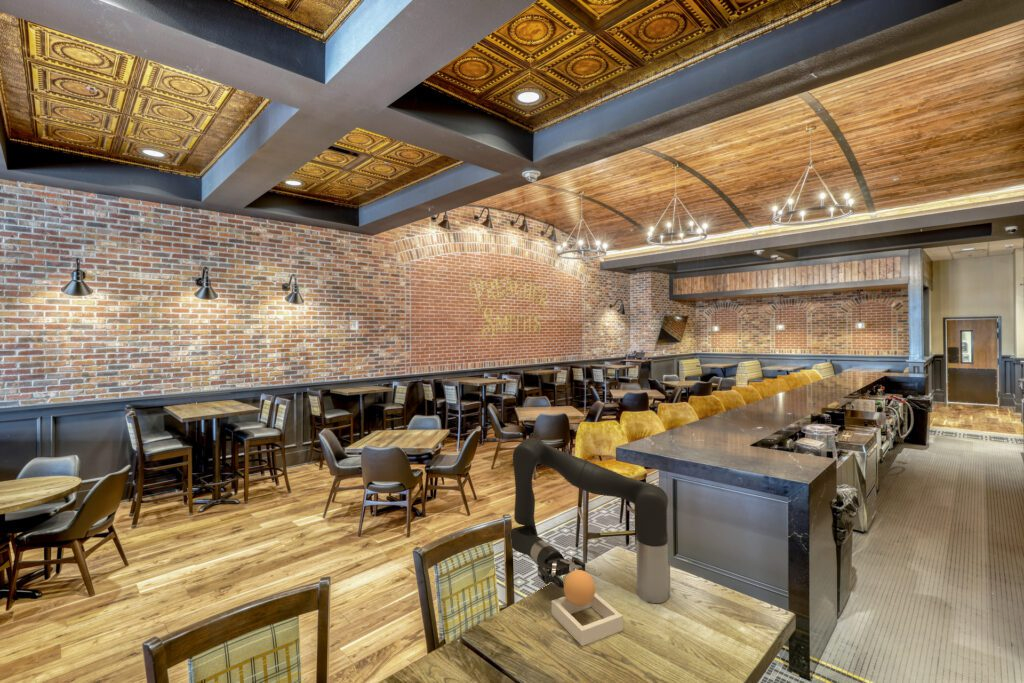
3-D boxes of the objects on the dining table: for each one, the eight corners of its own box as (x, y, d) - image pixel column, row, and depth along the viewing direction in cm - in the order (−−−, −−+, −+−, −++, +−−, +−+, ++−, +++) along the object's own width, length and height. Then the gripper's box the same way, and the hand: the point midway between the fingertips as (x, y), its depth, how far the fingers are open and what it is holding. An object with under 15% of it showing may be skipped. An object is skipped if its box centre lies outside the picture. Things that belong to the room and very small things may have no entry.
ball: (582, 588, 136) (583, 560, 135) (601, 607, 128) (602, 577, 127) (557, 597, 132) (558, 567, 131) (574, 616, 124) (576, 586, 123)
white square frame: (589, 601, 136) (589, 588, 136) (622, 630, 123) (622, 615, 123) (551, 614, 130) (551, 600, 130) (582, 646, 117) (581, 631, 117)
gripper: (527, 550, 142) (554, 575, 128) (564, 540, 149) (594, 563, 134) (527, 574, 143) (554, 601, 128) (565, 563, 149) (595, 588, 134)
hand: (575, 581), depth 131 cm, fingers open, 8 cm apart
